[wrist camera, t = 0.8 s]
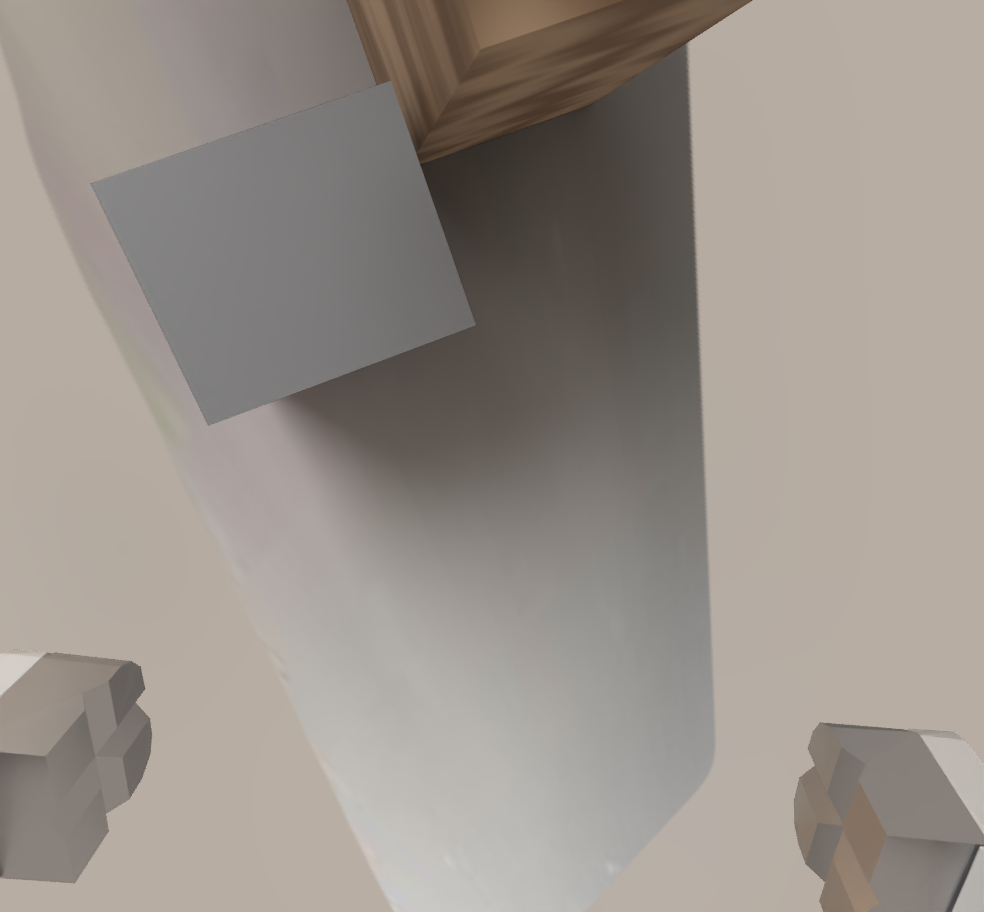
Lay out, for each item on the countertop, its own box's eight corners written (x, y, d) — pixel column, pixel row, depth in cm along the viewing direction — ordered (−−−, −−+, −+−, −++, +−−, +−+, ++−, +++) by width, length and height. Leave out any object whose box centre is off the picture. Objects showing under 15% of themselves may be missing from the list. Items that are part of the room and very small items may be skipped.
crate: (253, 373, 45) (208, 425, 30) (179, 209, 42) (90, 183, 27) (437, 305, 46) (476, 325, 31) (377, 140, 43) (390, 80, 28)
